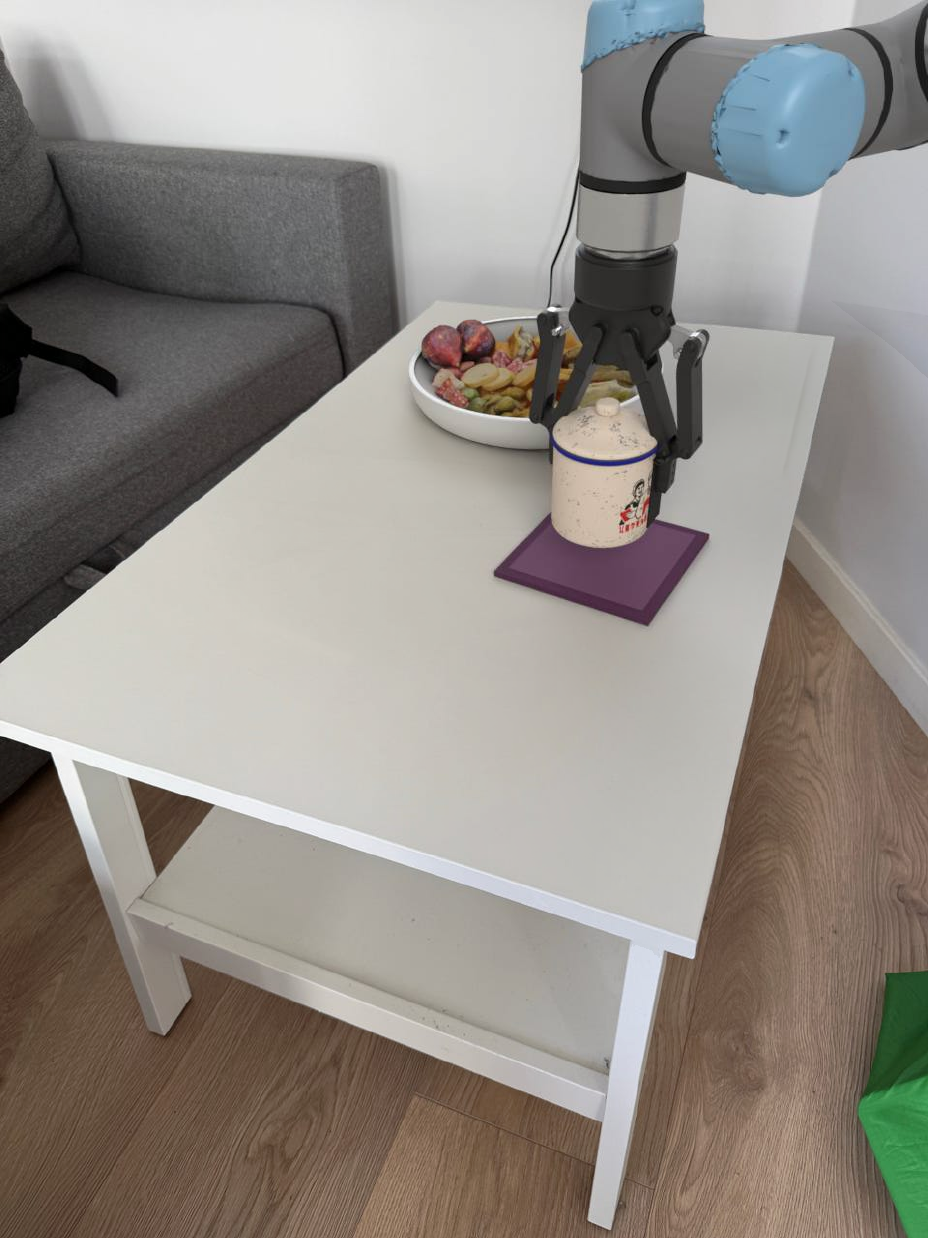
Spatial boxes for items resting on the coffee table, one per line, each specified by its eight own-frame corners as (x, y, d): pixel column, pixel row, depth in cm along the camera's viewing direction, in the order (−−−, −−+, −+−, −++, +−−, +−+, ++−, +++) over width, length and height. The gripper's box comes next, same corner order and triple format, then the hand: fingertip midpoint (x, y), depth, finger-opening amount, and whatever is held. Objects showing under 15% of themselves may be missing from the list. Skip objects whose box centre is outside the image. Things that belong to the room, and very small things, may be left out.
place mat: (709, 538, 87) (709, 533, 86) (648, 626, 77) (648, 620, 77) (566, 499, 93) (567, 494, 93) (493, 576, 83) (493, 570, 83)
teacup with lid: (637, 560, 77) (650, 434, 69) (534, 540, 79) (536, 417, 72) (668, 490, 85) (683, 371, 78) (574, 474, 88) (580, 358, 81)
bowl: (681, 367, 117) (689, 306, 112) (626, 480, 96) (633, 411, 91) (464, 341, 126) (462, 284, 121) (369, 440, 105) (362, 375, 100)
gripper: (779, 246, 66) (731, 517, 80) (529, 213, 74) (526, 463, 89) (746, 278, 61) (701, 560, 75) (482, 239, 69) (487, 499, 84)
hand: (607, 507), depth 82 cm, fingers closed on teacup with lid, 7 cm apart
